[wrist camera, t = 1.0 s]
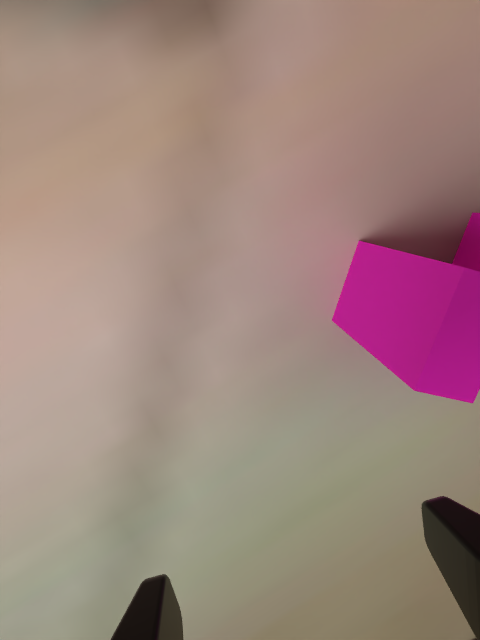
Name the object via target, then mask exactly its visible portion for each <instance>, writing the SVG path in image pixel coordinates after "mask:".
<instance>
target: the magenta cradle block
mask: <svg viewBox="0 0 480 640" xmlns="http://www.w3.org/2000/svg"><path fill="white" fill-rule="evenodd" d="M332 321H333V322H334V323H335V324H337V325H338V326H339V327H340V328H341V329H342V330H344V331H345V332H346V333H347V334H348V335H350V336H351V337H352V338H353V339H354V340H355V341H357V342H358V343H359V344H360V345H361V346H362V347H364V348H365V349H366V350H367V351H368V352H370V353H371V354H372V355H373V356H374V357H375V358H377V359H378V360H379V361H380V362H381V363H382V364H384V365H385V366H386V367H387V368H388V369H389V370H391V371H392V372H393V373H394V374H395V375H397V376H398V377H399V378H400V379H401V380H402V381H404V382H405V383H406V384H407V385H408V386H409V387H411V388H412V389H413V390H414V391H418V392H423V393H427V394H432V395H437V396H441V397H446V398H451V399H455V400H460V401H464V402H469V403H473V402H474V400H475V398H476V396H477V393H478V391H479V389H480V213H472V215H471V217H470V220H469V222H468V225H467V227H466V230H465V232H464V235H463V237H462V240H461V242H460V245H459V247H458V250H457V252H456V255H455V257H454V260H453V262H452V264H449V263H445V262H441V261H437V260H434V259H430V258H426V257H422V256H418V255H414V254H410V253H406V252H402V251H398V250H394V249H390V248H386V247H382V246H378V245H375V244H371V243H367V242H363V241H359V242H358V245H357V248H356V251H355V254H354V257H353V260H352V263H351V265H350V268H349V271H348V274H347V277H346V280H345V283H344V286H343V289H342V292H341V295H340V298H339V301H338V304H337V307H336V310H335V313H334V315H333V318H332Z"/></svg>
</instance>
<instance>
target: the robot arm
mask: <svg viewBox="0 0 480 640" xmlns="http://www.w3.org/2000/svg"><path fill="white" fill-rule="evenodd" d="M422 518H423V527H424V536H425V541H426V544H427V546H428V549H429V551H430V553H431V555H432V557H433V558H434V560H435V562H436V564H437V566H438V568H439V570H440V571H441V573H442V575H443V577H444V579H445V581H446V583H447V584H448V586H449V588H450V590H451V592H452V594H453V596H454V597H455V599H456V601H457V603H458V605H459V607H460V608H461V610H462V612H463V614H464V616H465V618H466V620H467V621H468V623H469V625H470V627H471V629H472V631H473V632H474V634H475V636H476V638H477V640H480V514H478V513H476V512H474V511H472V510H470V509H469V508H467V507H465V506H463V505H461V504H459V503H457V502H455V501H454V500H452V499H450V498H448V497H444V496H440V497H437V498H433V499H429V500H426V501H424V502H423V503H422ZM111 640H183V626H182V616H181V611H180V607H179V604H178V601H177V599H176V596H175V593H174V590H173V587H172V585H171V582H170V579H169V578H168V576H167V575H165V574H162V575H158V576H155V577H151V578H148V579H145V580H144V581H143V582H142V583H141V585H140V586H139V588H138V590H137V592H136V594H135V596H134V597H133V599H132V601H131V603H130V605H129V607H128V608H127V610H126V612H125V614H124V616H123V618H122V619H121V621H120V623H119V625H118V627H117V629H116V630H115V632H114V634H113V636H112V638H111Z"/></svg>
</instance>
